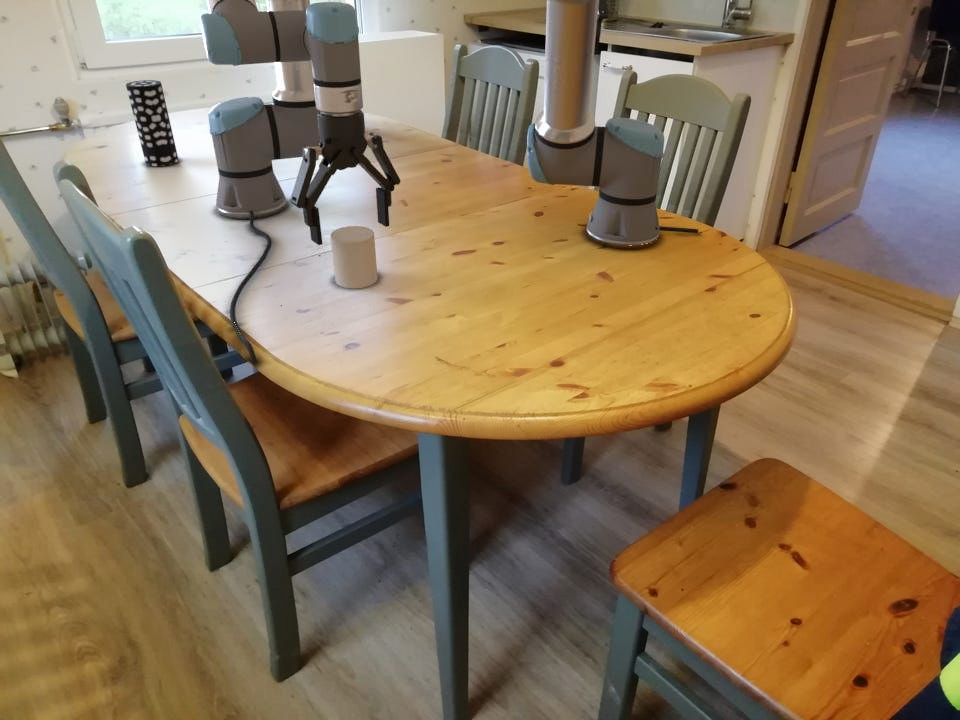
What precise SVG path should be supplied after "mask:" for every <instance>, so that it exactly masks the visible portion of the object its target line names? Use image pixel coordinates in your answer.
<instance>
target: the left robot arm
mask: <svg viewBox="0 0 960 720" xmlns="http://www.w3.org/2000/svg"><path fill="white" fill-rule="evenodd" d="M206 3H207V7H208V11H209V12H207V13H203V14H201V16H200V18H199V19H200V27H201V34H202V39H203V44H204V49H205V52H206V57H207V60H208V61H209V62H210V63H211V64H213V65H215V66H234V67H237V66H243V65H257V64H258V65H259V64H271V63H274V66H275V74H276V81H277V87H276V88H275V90H274V91H272V95H271V97H272V103H268V104H265V102H264V101H263V99H262V98H261V97H259V96H244V97H237V98H232V99H229V100H224V101H222V102H220V103H217V104H215V105H214V106H212V107H211V109H210V110H209V112H208V116H207V117H208V124H209V125H208V126H209V134H210V135H211V139H212V144H213V149H214V156H215V160H216V167H217V169H218V170H217V172H218V185H217V193H216V201H215V203H216V204H215V206H216V210H217V213H218V214H219V215H221V216H223V217H225V218H229V219H236V220H249V227H250V229H251V230H252V231H253V232H254V233H255V234H257V235H260V236H262V237H263V238H265V239H266V242H267V243H266V246H265V249H264V251H263V253H262V255H261V256H260V258H259V259H258V260H257V262H256V263H255V264H254V266H253V267H252V268H251V269H250V271H249V272H248V273H247V275H246V276H245V277H244V279H242V281H241V282H240V283H239V285H238V287H237V289H236V291H235V292H234V295H233V297H232V299H231V301H230V302H231V303H230V306H229V317H230V322H231V325H232V327H233V330H234V332H235V333H236V335H237V337H238V340H239V341H240V342H241V343H242V344H243V345H244V346H245V348H246V350H247V352H248V354H249V358H250V361H251V364H252V365H257V364H258V360H257V357H256V353H255V350H254V348H253V345H252V344H251V342H250V341H249V340H248V338H246V336H245V335H244V334H243V331H242V329H241V327H240V326H239V324H238V321H237V318H236V306H237V302H238V299H239V298H240V295H241V293H242V291H243V290H244V288H245V286H246V285H247V283H249V281H250V280H251V278H252V277H253V276H254V274H255V273H256V272H257V271H258V270H259V268H260V267H261V265H262V264H263V263H264V261H265V260H266V258H267V256H268V254H269V252H270V250H271V248H272V245H273V243H272V242H273V241H272V239H271V236H270V235H269V234H268V233H266V232H264V231H262V230H260V229H258V228H257V227H256V226H255V225H254V222H255V219H260V218H261V219H262V218H265V217H266V218H267V217H270V216H274V215H276V214H278V213H280V212H282V211H283V210H285V209H286V207H287V199H286V194H285V193H284V191H283V189H282V187H281V184H280V182H279V180H278V179H277V177H276V175H275V172H274V167H273V161H276V160H286V159H296V158H302V160H301V163H300V166H299V170H298V173H297V176H296V179H295V183H294V185H293V189H292V193H291V196H290V199H289V202H290V203H291V204H292V205H293V206H294V207H296V208H297V209H302V215H303V222H304V224H305V225H306V226H307V227H309V232H310V240H311V241H312V242H313V243H315V244H316V245H317V246H323V235H322V226H321V219H320V210H319V208H318V207H317V206H316V204H317V202H318V200H319V198H320V197H321V195H322V194H323V192H324V190H325V188H326V186H327V184H328V183H329V181H330V179H331V178H332V176H334V175H335V174H336V172H337V170H339V171H344V170H347V169H348V168H349V169H350V168H351V169H353V168H357V166H358V165H359V166H360V167H361V168H362V169H363V171H364V172H366V173H367V174H368V175H369V176H370V177H371V178H372V179H373V181H375V182H376V184H378V186H379V187H376V188H375V196H376V198H375V199H376V211H377V223H378V224H380V225H381V226H383V227H385V228H388V227H390V212H389V211H390V210H389V207H392V203H393V202H392V201H393V200H392V192H394V190H395V186H397V185H400V183H401V179H400V177H399V174H398V172H397V171H396V169H395V167H394V165H393V164H392V161H391V160H390V158H389V156H388V154H387V152H386V150H385V147H384V143H383V137H382V136H380V135H379V134H376V133H374V132H370V133H369V134H368V136H365V133H366V124H365V123H366V122H365V113H364V112H363V110H362V109H363V107H364V99H363V85H362V73H361V71H362V69H361V58H360V39H359V33H360V28H359V26H358V19H357V12H356V9H355V7H354V6H353V4H350V3H346V2H341V1H320V2H313V3H311V0H266V7H267V11H266V10H265V11H259V9H258V6H257V2H256V0H206ZM367 148H370V150H371V152H372V154H373V156H374V157H375V159H376V161H377V163H378V164H379V166H380V168H381V170H382V172H383V174H384V175H385V176H384V175H383V174H382V173H381V171H379V169H377V168H376V167H375V166H374V165H373V163H372V162H371V161H370V160H369V158H368V157H367V156H365V153H366V150H367ZM320 156H322V159H321V161H320V162H319V164H318V169H317V172H316V173H315V169H316V166H317V161H319V160H320ZM314 174H315V175H314ZM313 176H314V177H313ZM234 322H235V323H234ZM235 324H236V325H235ZM236 326H237V327H236ZM237 328H238V329H237ZM238 330H239V331H238ZM239 332H240V333H241V334H240V333H239Z"/></svg>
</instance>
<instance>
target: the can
mask: <svg viewBox="0 0 960 720" xmlns="http://www.w3.org/2000/svg"><path fill="white" fill-rule="evenodd" d="M329 235H330V237H329V238H330V244H331V253H332V264H333V271H334V281H335V283H336V284H337V285H338V286H340V287H342V288H345V289H355V290H356V289H363V288H367V287H370V286H372V285H374V284H375V283H376V282H377V281H378V268H377V267H378V266H377V253H376V241H375V231H374V230H372V229H371V228H369V227H368V226H367V227H366V226H363V225H362V226H361V225H347V226H342V227H339V228H336V229H334V230H333V231H332V232H331V233H330V234H329Z"/></svg>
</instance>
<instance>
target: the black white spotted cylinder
mask: <svg viewBox="0 0 960 720" xmlns="http://www.w3.org/2000/svg"><path fill="white" fill-rule="evenodd" d="M125 87H126V91H127V95H128V99H129V103H130V107H131V110H132V115H133V118H134V122H135V123H134V124H135V127H136V130H137V134H138V139H139V143H140V146H141V150H142V155H143V158H144V163H145V164H146V165H147V166H151V167H164V166H170V165H174V164H176V163H178V162H179V155H178V150H177V146H176V142H175V137H174V133H173V128H172V125H171V121H170V116H169V111H168V107H167V103H166V98H165V93H164V89H163V84H162V81H161V80H155V79H154V80H153V79H151V80H150V79H145V80H144V79H141V80H134V81H130V82H129V81H128V82H127V83H126V84H125Z"/></svg>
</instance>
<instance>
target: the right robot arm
mask: <svg viewBox="0 0 960 720" xmlns="http://www.w3.org/2000/svg"><path fill="white" fill-rule="evenodd" d="M608 5H609V4H608V0H546V16H545V17H546V18H545V48H544V49H545V51H544V75H543V76H544V78H543V79H544V80H543V81H544V82H543V109H542V111H541V112H540V113H539V114H538V115H537V116H536V118H535V121H534V122H533V123H530V125H529V126H528V129H527V134H526V135H527V137H526V138H527V139H526V147H527V148H526V149H527V154H526V155H527V157H526V158H527V164H528V171H529V176H530V178H531V179H532V180H533V181H534V182H536V183H539V184H540V183H541V184H548V185H552V186H554V185H563V186H564V185H565V186H581V187H597V188H598V187H599V189H598V190H599V191H598V198H597V199H596V200H597V201H596V203H595V205H594V207H593V209H592V211H591V212H590V213H589V215H588V218H589V219H588V221H587V224H586V231H585V234H586V236H587V238H588V239H590V240H591V241H592V242H594V243H596V244H598V245H601V246H605V247H608V248H614V249H621V250H638V249H645V248H648V247H651V246H654V245H655V244H656V243H658V241H659V240H660V235H661V234H660V233H661V232H676V233H687V234H698V233H699V229H698V228H690V227H689V228H688V227H676V226H675V227H674V226H661V225H660V222H659V216H658V210H657V205H656V201H657V194H658V189H659V181H660V175H661V174H660V173H661V168H662V167H661V166H662V161H663V158H664V156H665V153H664V149H665V148H664V147H665V135H664V132H663V131H662V130H661V128H659V127H657V126H655V125H654V124H651V123H649V122H646V121H643V120H639V119H633V118H628V117H612V118H611V117H610V118H608V120H607V121H606V123H605V126H598V125H596V119H595V117H594V115H593V114H592V113H591V112H590V101H591V100H590V99H591V90H592V78H593V70H594V69H593V68H594V58H595V55H597V54H599V50H600V39H601V33H602V24H603V21H604V20H607V19H609V17H610V12H609V6H608ZM656 239H657V240H656ZM650 242H651V243H650ZM646 243H648V244H646ZM641 244H643V245H641ZM629 245H632V246H629Z"/></svg>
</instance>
